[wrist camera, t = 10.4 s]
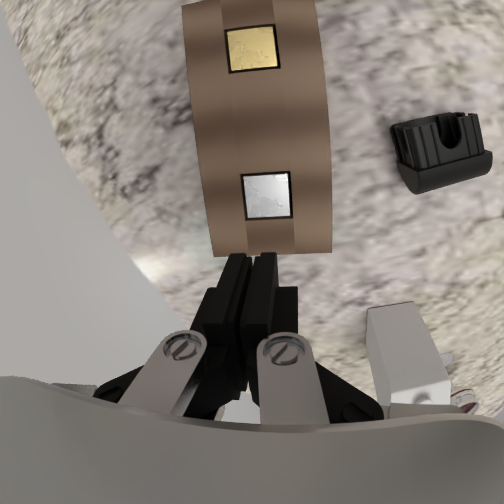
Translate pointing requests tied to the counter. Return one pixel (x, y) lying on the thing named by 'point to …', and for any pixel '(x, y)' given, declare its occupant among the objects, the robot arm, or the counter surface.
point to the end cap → (440, 151)
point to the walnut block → (260, 125)
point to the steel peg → (267, 194)
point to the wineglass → (461, 392)
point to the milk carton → (404, 357)
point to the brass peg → (252, 49)
